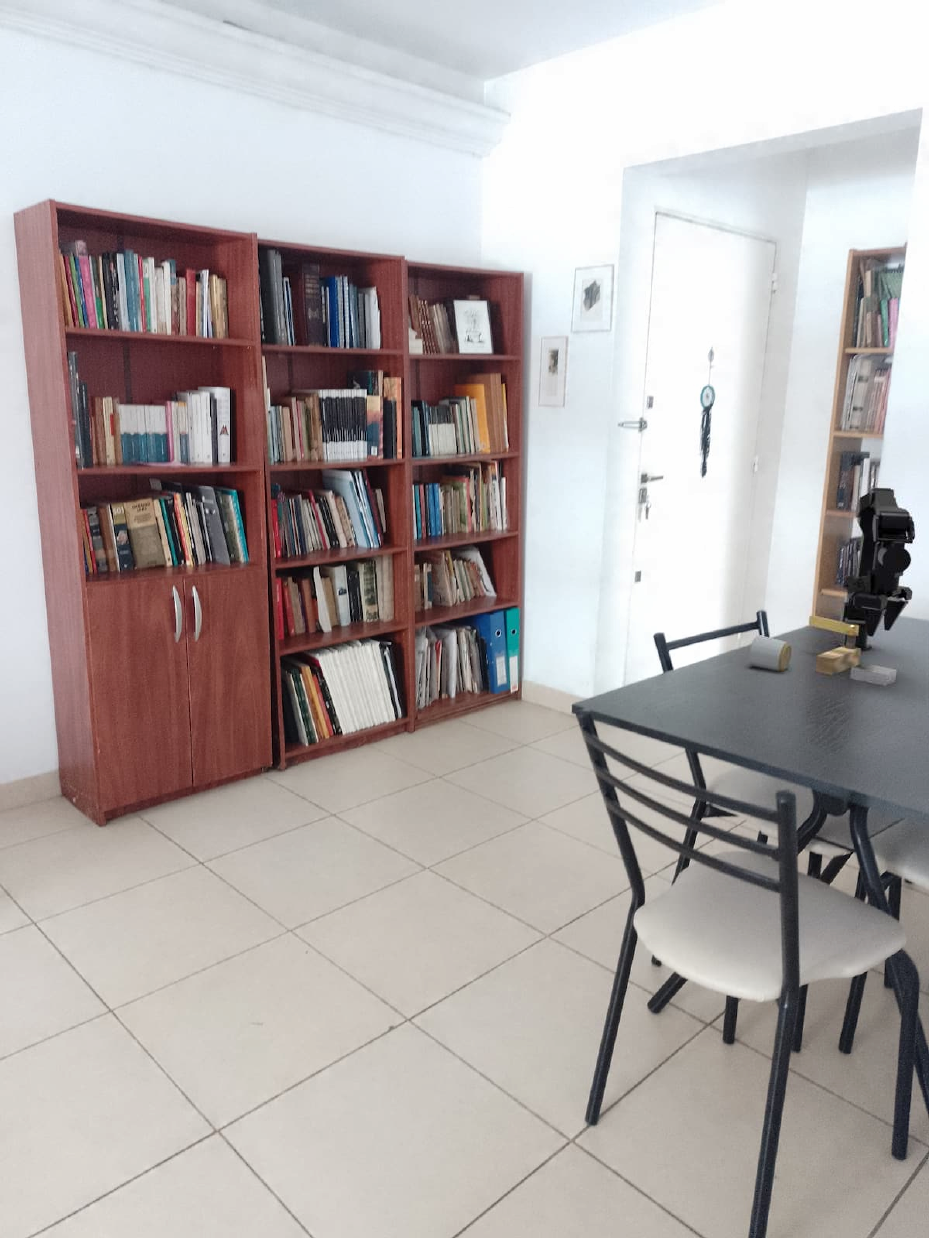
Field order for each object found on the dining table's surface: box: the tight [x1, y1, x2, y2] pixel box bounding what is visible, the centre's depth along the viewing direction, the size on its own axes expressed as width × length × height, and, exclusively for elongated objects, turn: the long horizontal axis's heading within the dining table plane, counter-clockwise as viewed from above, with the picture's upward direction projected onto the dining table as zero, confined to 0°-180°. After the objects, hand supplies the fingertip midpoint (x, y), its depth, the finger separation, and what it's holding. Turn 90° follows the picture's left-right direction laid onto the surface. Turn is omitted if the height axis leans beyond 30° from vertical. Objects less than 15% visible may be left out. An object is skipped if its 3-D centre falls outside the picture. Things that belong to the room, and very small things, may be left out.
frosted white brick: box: [850, 662, 897, 687], centre depth 213 cm, size 8×6×3 cm
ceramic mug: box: [748, 634, 793, 672], centre depth 221 cm, size 11×8×8 cm
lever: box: [808, 615, 859, 636], centre depth 229 cm, size 13×3×2 cm, turn 34°
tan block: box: [815, 635, 862, 676], centre depth 221 cm, size 15×4×7 cm, turn 134°
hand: (878, 633), depth 210 cm, fingers open, 9 cm apart
